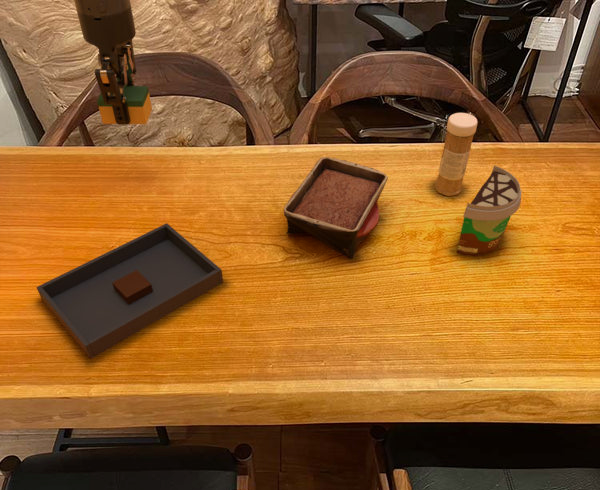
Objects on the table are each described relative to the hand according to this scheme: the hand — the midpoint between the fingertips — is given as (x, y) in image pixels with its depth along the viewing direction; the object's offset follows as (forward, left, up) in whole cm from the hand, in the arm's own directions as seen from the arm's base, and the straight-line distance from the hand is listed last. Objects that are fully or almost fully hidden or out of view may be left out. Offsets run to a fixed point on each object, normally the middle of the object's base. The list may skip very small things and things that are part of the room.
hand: (127, 114), depth 95 cm
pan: (-16, -24, -13) cm, 31 cm away
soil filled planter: (+16, -32, -13) cm, 38 cm away
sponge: (0, 0, 0) cm, 0 cm away
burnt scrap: (-16, -24, -12) cm, 31 cm away
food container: (+31, -51, -13) cm, 61 cm away
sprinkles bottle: (+38, -38, -13) cm, 55 cm away
